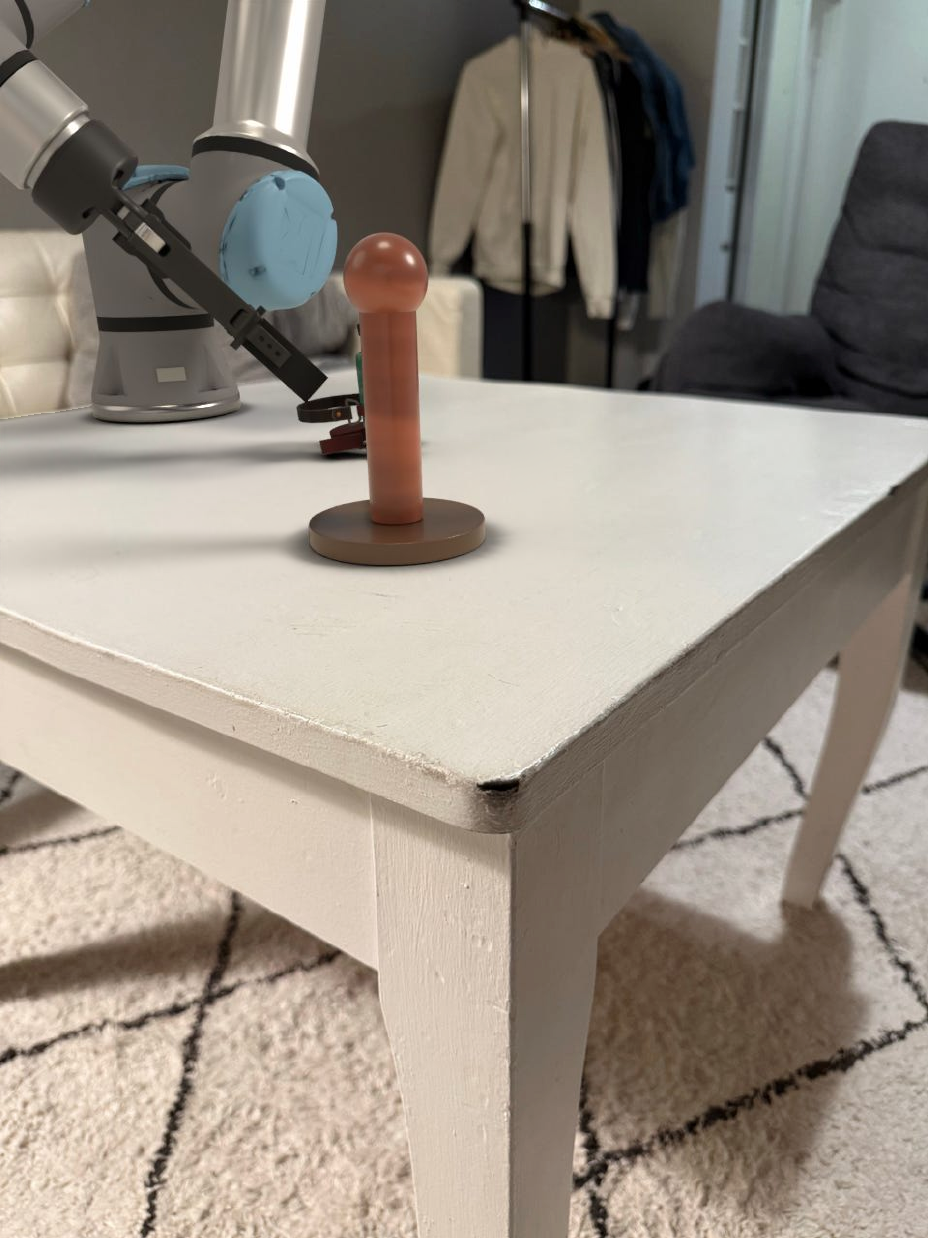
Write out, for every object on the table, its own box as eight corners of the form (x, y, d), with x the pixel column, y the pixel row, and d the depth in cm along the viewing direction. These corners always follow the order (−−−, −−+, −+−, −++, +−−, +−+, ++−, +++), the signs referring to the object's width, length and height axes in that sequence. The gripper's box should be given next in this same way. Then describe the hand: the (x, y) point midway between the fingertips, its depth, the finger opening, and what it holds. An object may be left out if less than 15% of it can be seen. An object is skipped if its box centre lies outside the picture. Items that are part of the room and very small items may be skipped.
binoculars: (293, 326, 78) (409, 311, 77) (315, 449, 81) (426, 436, 81) (267, 334, 69) (396, 318, 68) (293, 471, 73) (416, 457, 72)
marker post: (301, 523, 56) (276, 236, 50) (459, 509, 58) (453, 233, 52) (321, 574, 47) (294, 230, 41) (507, 554, 49) (507, 227, 43)
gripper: (41, 203, 70) (278, 413, 80) (8, 187, 58) (292, 436, 68) (104, 128, 70) (335, 348, 80) (83, 95, 58) (359, 360, 68)
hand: (315, 388), depth 74 cm, fingers closed
